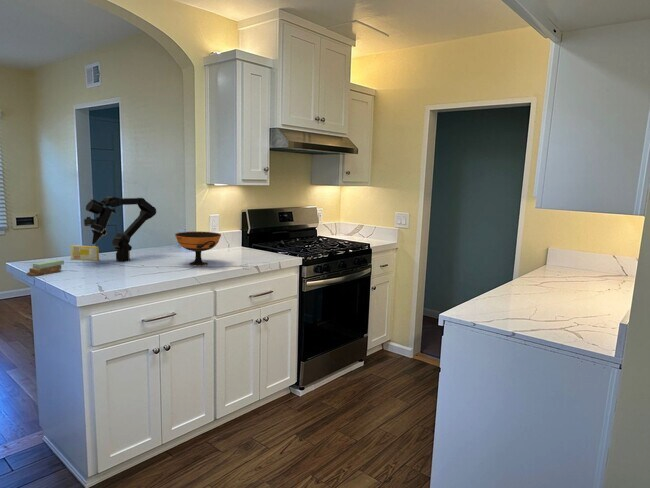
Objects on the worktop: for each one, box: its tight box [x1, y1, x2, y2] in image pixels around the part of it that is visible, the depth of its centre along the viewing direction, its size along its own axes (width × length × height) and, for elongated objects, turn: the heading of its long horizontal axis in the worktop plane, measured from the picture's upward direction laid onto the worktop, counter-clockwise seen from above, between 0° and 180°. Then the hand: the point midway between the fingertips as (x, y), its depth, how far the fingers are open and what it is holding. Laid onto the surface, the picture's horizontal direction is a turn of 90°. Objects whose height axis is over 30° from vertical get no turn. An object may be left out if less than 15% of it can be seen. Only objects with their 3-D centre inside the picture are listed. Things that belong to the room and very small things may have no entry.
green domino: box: [32, 259, 65, 269], centre depth 226 cm, size 2×5×13 cm
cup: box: [174, 231, 222, 267], centre depth 261 cm, size 36×26×18 cm
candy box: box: [70, 244, 100, 262], centre depth 260 cm, size 16×2×8 cm, turn 84°
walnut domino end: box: [26, 269, 61, 277], centre depth 224 cm, size 2×5×13 cm
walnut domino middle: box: [28, 265, 62, 274], centre depth 224 cm, size 2×5×13 cm
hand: (93, 244), depth 247 cm, fingers closed
